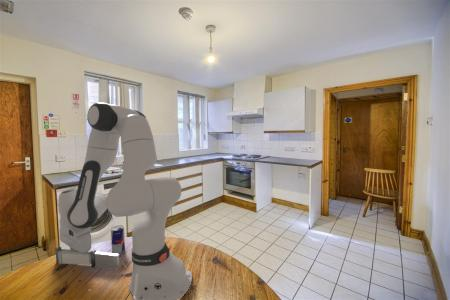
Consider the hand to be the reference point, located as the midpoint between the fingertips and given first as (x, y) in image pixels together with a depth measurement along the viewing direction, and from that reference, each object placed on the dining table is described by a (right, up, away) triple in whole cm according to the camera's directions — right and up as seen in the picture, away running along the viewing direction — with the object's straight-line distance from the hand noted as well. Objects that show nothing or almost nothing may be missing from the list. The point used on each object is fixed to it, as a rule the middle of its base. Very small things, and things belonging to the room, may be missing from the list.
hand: (75, 255), depth 89 cm
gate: (+2, -2, -3) cm, 4 cm away
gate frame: (+7, -2, -3) cm, 8 cm away
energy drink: (+16, -2, +6) cm, 17 cm away
